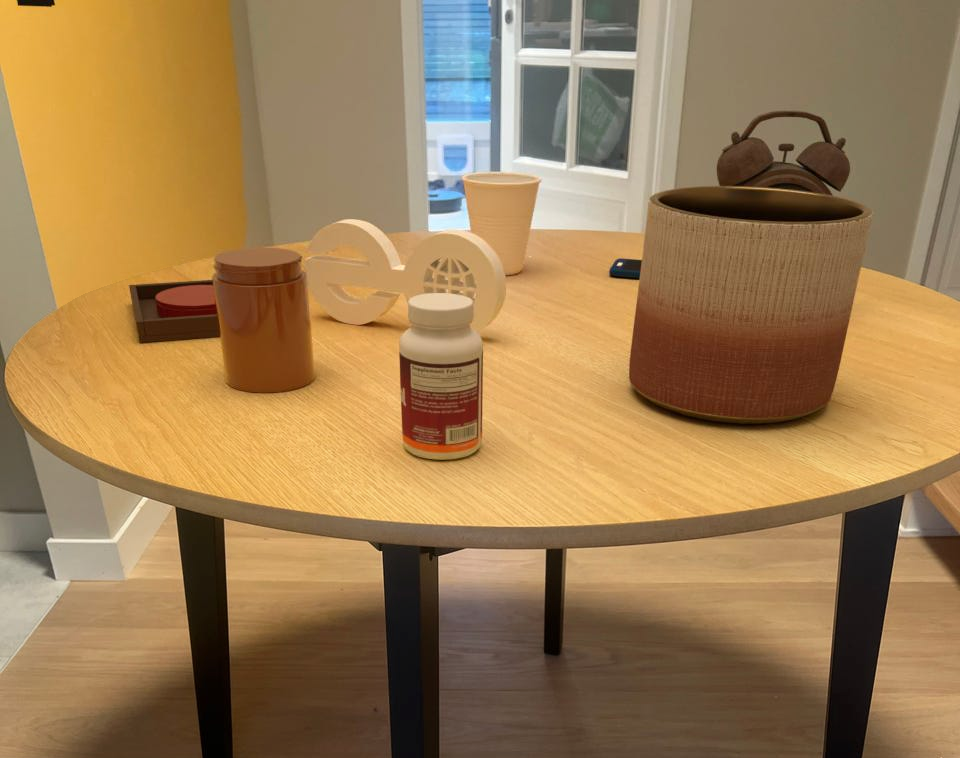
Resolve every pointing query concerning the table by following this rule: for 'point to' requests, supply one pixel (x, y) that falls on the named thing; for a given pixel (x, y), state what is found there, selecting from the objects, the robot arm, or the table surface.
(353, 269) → the cream logo sign
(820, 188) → the alarm clock
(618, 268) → the cell phone
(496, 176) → the cup
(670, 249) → the planter
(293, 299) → the jar
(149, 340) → the tray
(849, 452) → the table surface
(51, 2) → the robot arm
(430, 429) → the pill bottle
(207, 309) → the jar lid
